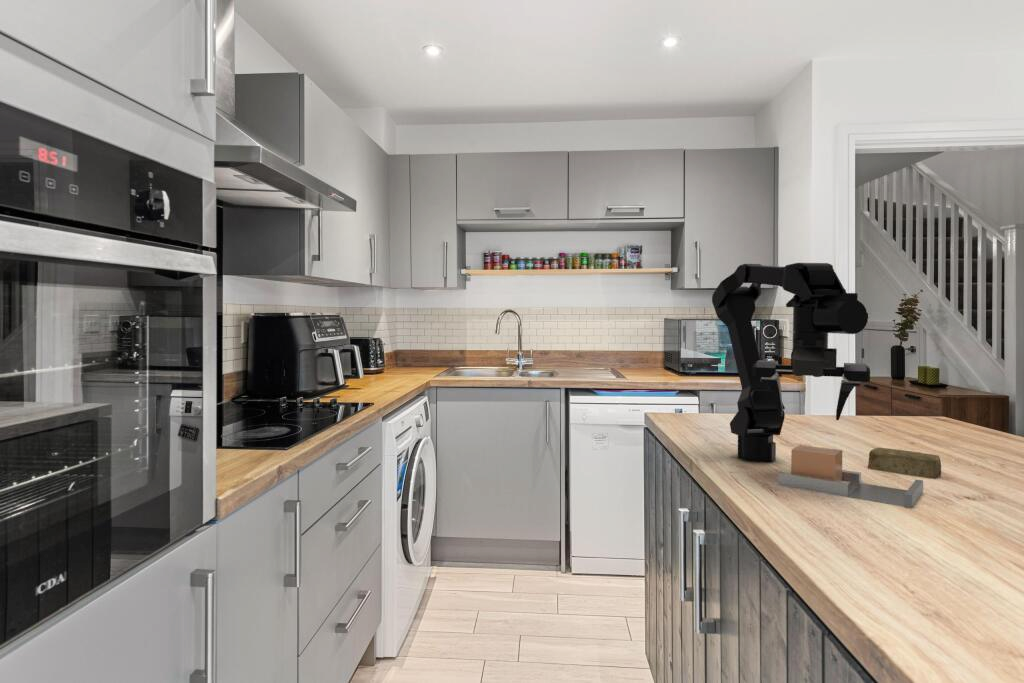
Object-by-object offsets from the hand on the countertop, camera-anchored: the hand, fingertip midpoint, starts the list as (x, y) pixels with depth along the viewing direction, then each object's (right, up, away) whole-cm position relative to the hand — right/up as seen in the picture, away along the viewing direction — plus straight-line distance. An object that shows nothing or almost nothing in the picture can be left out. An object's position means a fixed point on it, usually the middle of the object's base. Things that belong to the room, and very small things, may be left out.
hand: (808, 417), depth 108 cm
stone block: (+21, -12, +6) cm, 25 cm away
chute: (+4, -12, -6) cm, 14 cm away
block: (0, -11, -3) cm, 12 cm away
